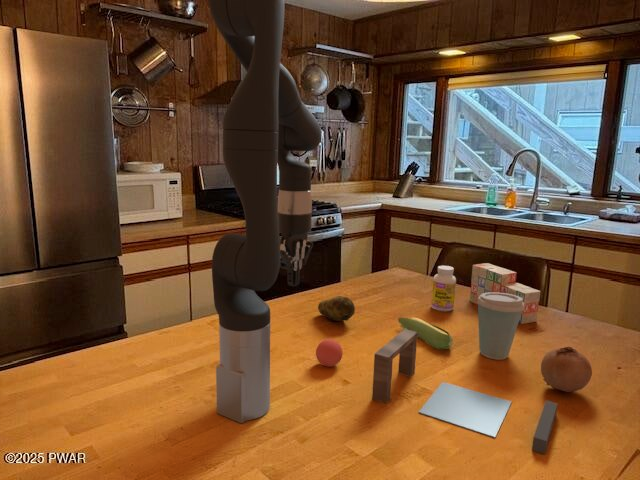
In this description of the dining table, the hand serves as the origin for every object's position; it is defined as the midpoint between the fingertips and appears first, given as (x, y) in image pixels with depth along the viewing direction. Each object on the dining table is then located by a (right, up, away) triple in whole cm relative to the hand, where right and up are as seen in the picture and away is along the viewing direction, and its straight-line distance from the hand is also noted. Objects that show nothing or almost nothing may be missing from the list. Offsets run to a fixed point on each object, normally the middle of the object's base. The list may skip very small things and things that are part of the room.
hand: (293, 285), depth 113 cm
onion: (+57, -21, -10) cm, 61 cm away
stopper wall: (+46, -24, -25) cm, 58 cm away
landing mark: (+34, -22, -17) cm, 44 cm away
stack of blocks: (+61, -11, +37) cm, 72 cm away
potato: (+10, -13, +25) cm, 30 cm away
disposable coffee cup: (+48, -17, +6) cm, 52 cm away
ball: (+8, -15, -2) cm, 17 cm away
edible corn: (+33, -15, +15) cm, 39 cm away
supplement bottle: (+43, -11, +37) cm, 58 cm away
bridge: (+22, -20, -10) cm, 31 cm away
